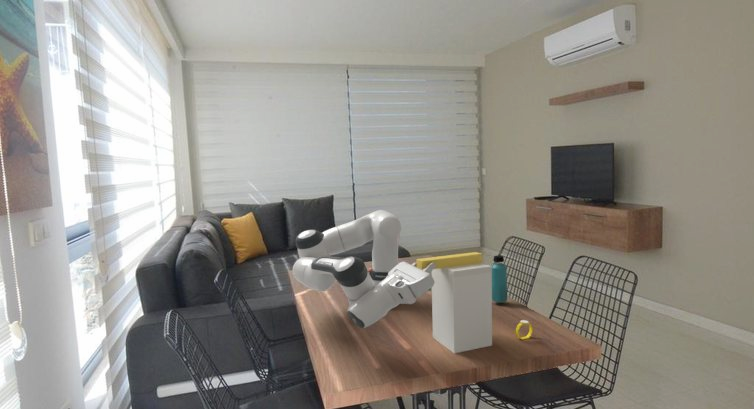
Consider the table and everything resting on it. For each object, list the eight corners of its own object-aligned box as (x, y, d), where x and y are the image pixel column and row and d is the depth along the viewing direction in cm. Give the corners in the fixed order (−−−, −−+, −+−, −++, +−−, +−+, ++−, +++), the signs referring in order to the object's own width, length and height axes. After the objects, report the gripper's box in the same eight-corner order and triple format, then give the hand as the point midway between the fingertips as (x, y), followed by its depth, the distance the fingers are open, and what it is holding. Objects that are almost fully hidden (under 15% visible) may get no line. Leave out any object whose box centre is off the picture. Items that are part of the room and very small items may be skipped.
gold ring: (528, 336, 151) (529, 319, 151) (533, 339, 148) (535, 321, 148) (513, 338, 149) (514, 320, 148) (519, 341, 146) (520, 323, 146)
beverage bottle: (508, 306, 181) (508, 257, 179) (491, 305, 182) (490, 257, 180) (506, 301, 187) (506, 254, 185) (490, 300, 189) (490, 254, 187)
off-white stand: (454, 353, 139) (453, 271, 136) (432, 337, 152) (431, 262, 149) (492, 345, 144) (491, 266, 141) (468, 330, 157) (467, 257, 154)
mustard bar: (421, 270, 138) (421, 261, 138) (416, 268, 142) (416, 259, 141) (481, 262, 146) (481, 253, 146) (475, 260, 150) (475, 251, 149)
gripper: (387, 287, 148) (419, 263, 152) (414, 305, 129) (450, 277, 133) (378, 272, 146) (410, 248, 150) (404, 288, 127) (441, 260, 131)
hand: (429, 262), depth 141 cm, fingers open, 4 cm apart
